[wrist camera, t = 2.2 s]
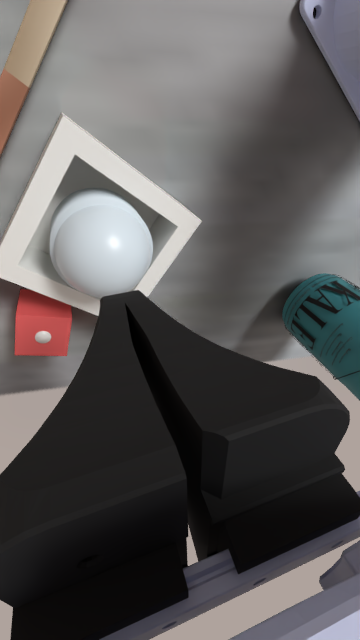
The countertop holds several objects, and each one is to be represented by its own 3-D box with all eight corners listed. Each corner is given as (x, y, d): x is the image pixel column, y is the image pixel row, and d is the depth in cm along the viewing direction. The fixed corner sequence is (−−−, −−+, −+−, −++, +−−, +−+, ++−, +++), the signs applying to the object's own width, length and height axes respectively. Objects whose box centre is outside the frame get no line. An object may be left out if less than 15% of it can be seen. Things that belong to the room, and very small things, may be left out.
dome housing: (181, 203, 19) (201, 220, 17) (117, 298, 22) (126, 326, 19) (61, 112, 15) (63, 115, 12) (-2, 245, 17) (-13, 272, 15)
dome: (158, 221, 17) (185, 252, 14) (114, 287, 19) (128, 332, 15) (78, 166, 14) (86, 188, 11) (33, 250, 16) (27, 293, 12)
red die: (70, 293, 20) (71, 319, 18) (65, 329, 22) (66, 356, 19) (20, 288, 19) (15, 315, 17) (19, 326, 20) (14, 355, 18)
